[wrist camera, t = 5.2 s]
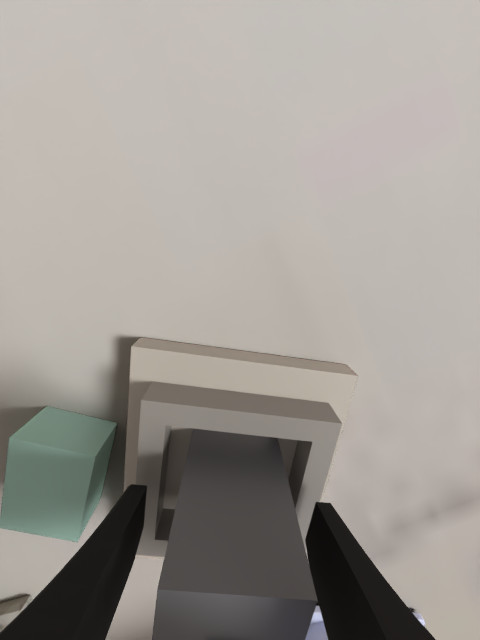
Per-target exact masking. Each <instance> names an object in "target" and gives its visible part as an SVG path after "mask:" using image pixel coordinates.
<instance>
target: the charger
mask: <svg viewBox="0 0 480 640" xmlns="http://www.w3.org/2000/svg"><path fill="white" fill-rule="evenodd" d="M317 601H318V600H317V596H316V592H315V588H314V584H313V580H312V575H311V571H310V567H309V563H308V559H307V555H306V551H305V547H304V543H303V539H302V535H301V531H300V527H299V523H298V519H297V514H296V510H295V506H294V502H293V498H292V494H291V490H290V486H289V482H288V478H287V474H286V470H285V466H284V462H283V458H282V453H281V449H280V445H279V441H278V438H274V437H265V436H256V435H247V434H238V433H229V432H220V431H211V430H202V429H193V431H192V435H191V440H190V444H189V449H188V453H187V458H186V462H185V467H184V472H183V476H182V481H181V485H180V490H179V494H178V499H177V503H176V508H175V512H174V517H173V521H172V526H171V531H170V535H169V540H168V544H167V549H166V553H165V558H164V562H163V567H162V571H161V576H160V580H159V585H158V590H157V599H156V609H155V618H154V627H153V637H152V640H305V639H306V635H307V632H308V629H309V626H310V623H311V620H312V617H313V614H314V611H315V608H316V604H317Z"/></svg>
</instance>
